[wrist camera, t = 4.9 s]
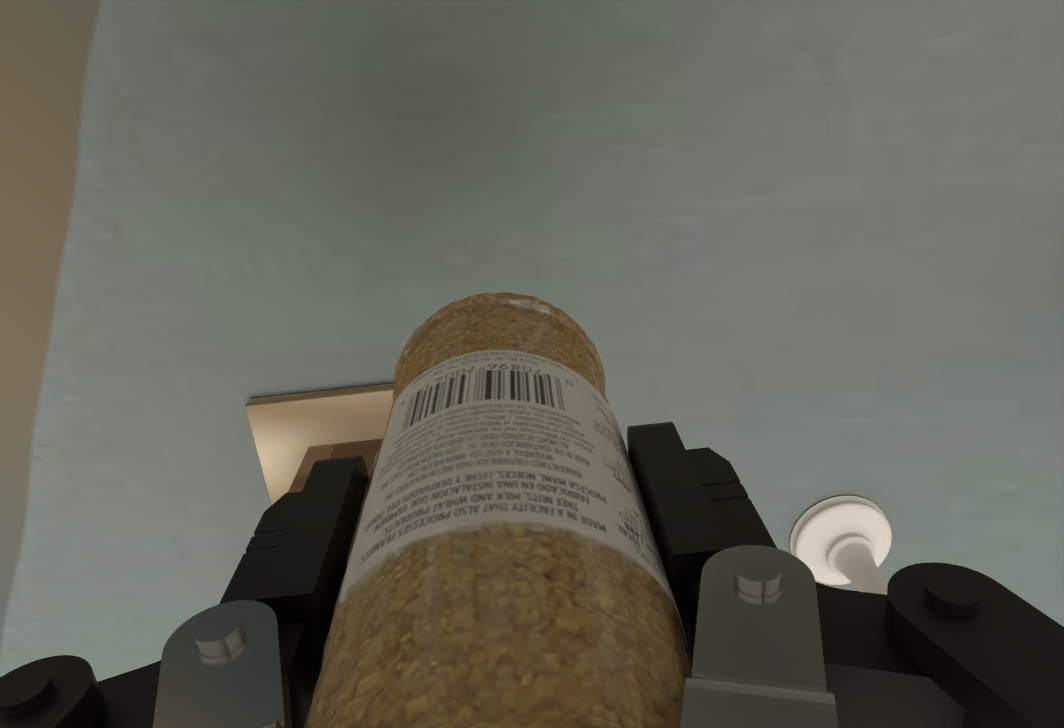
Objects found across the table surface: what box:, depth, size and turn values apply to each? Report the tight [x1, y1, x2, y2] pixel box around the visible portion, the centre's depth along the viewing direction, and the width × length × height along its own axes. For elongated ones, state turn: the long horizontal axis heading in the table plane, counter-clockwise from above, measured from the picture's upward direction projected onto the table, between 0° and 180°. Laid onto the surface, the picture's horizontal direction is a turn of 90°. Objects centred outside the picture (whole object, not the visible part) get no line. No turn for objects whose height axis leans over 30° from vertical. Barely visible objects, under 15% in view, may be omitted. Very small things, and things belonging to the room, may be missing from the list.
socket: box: [246, 383, 395, 505], centre depth 35 cm, size 14×14×6 cm
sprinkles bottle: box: [304, 293, 692, 728], centre depth 11 cm, size 5×5×13 cm
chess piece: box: [790, 496, 892, 595], centre depth 35 cm, size 5×5×10 cm
